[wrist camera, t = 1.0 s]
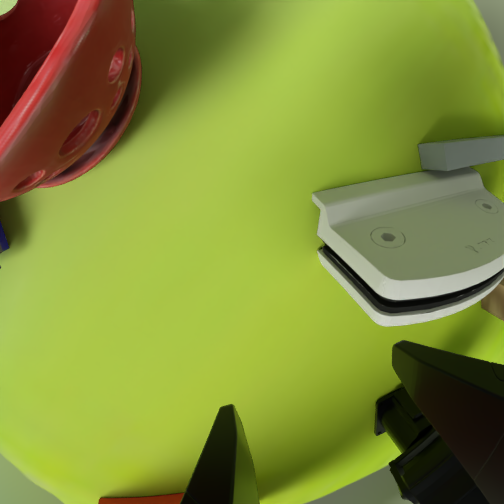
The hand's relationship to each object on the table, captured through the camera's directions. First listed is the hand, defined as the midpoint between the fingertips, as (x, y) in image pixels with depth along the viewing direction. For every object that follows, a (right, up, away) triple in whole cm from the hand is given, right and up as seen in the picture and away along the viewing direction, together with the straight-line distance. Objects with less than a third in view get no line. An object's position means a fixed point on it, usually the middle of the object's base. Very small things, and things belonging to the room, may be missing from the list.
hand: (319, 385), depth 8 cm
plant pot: (-14, +14, +6) cm, 21 cm away
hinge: (+10, +6, +13) cm, 18 cm away
